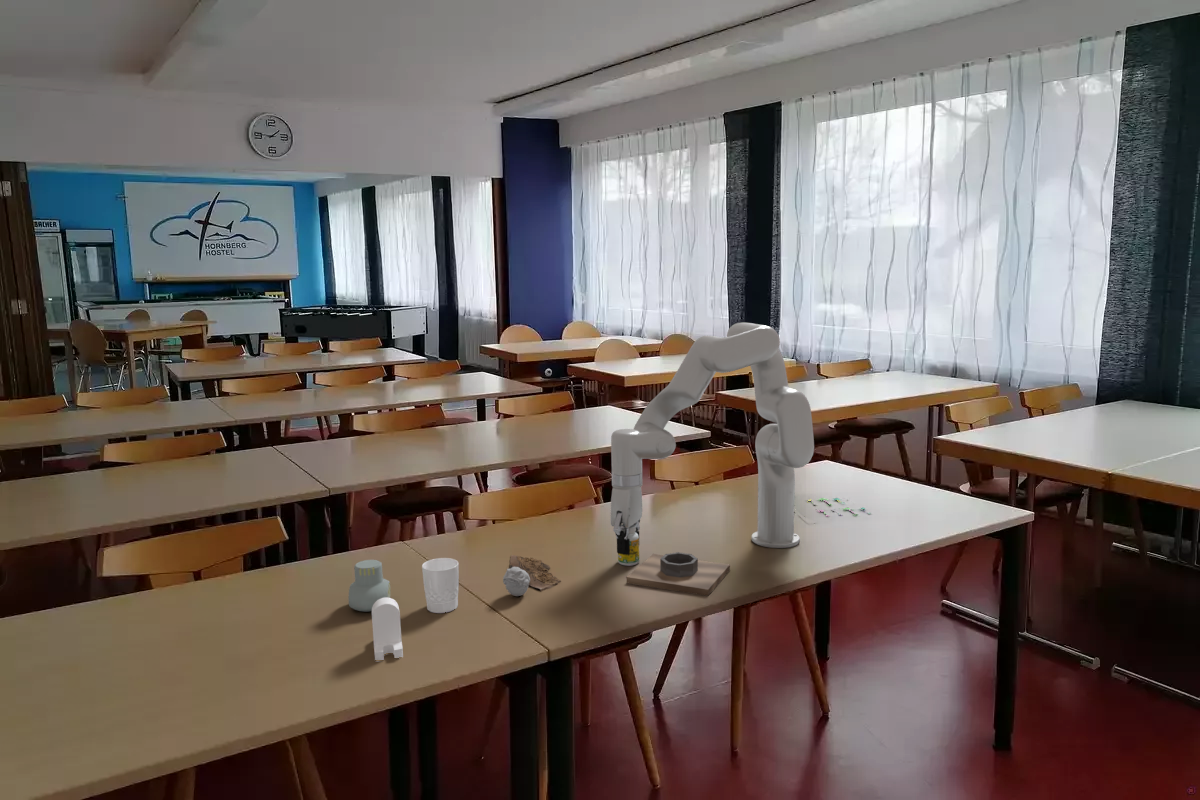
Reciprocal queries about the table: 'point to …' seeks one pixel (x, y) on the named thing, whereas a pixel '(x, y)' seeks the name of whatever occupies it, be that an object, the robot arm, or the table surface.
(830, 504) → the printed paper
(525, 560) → the wooden fragment
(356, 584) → the air freshener
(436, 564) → the white cup
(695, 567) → the holder
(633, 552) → the supplement bottle
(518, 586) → the crumpled paper ball
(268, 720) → the table surface
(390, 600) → the white phone stand
